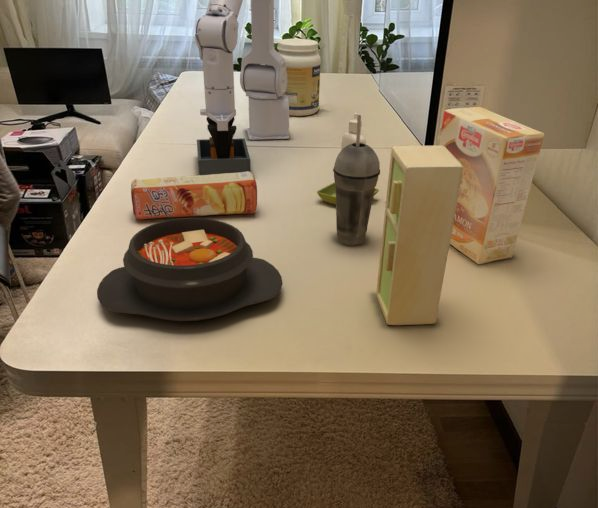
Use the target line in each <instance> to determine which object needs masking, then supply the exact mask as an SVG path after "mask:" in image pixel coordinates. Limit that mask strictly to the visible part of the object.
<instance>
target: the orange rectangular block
mask: <svg viewBox="0 0 598 508" xmlns="http://www.w3.org/2000/svg"><path fill="white" fill-rule="evenodd" d="M208 139H210V147H211V159H218V158H217V154H216V149H215V145H214V141H213V139H212V136H210V137H209V138H208ZM233 139H234V138H233ZM233 139H232V143H231V150H230V157H229V158H234V151H233V147H234V142H233Z"/></svg>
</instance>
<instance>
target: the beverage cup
mask: <svg viewBox="0 0 598 508" xmlns="http://www.w3.org/2000/svg"><path fill="white" fill-rule="evenodd" d="M360 126H361V127H362V115H361V114H358V118H357V136H356V143H352V144H349V145H347V146H346V147H345V148H343V149H342V148H341V149H340V151H339V153H338V154H337V156H336V159H335V161H334V165H333V169H332V171H333V180H334V182H335V184H336V205H335V216H336V217H335V219H336V222H335V224H336V237H337V238H336V239H337V241H338V242H339V243H340V244H343V245H346V246H359V245H362V244H363V243H365V239H366V234H367V231H368V226H369V220H370V216H371V210H372V205H373V201H374V197H373V195H374V189H375V188H376V187H377V184H378V181H379V176H380V174H381V168H380V165H381V164H380V159H379V157H378V155H377V153H376V152H375V150H374V149H373V148H372V147H371V146H370V145H368V144H367V143H366V144H363V143H360V133H361V132H360Z"/></svg>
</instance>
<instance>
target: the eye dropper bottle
mask: <svg viewBox="0 0 598 508" xmlns="http://www.w3.org/2000/svg"><path fill="white" fill-rule="evenodd" d="M358 115H359V113H357V112H354V113H353V116H352V119H350V120H348V131H345V132H344V133H343V135H342V138H341V150H342V149H343V148H345V147H346V146H347V145H349V144H352V143H356V136H357V118H358ZM360 143H363V144H366V145H367V142H366V138H365V136H364V135H363V133H362V125H361V126H360Z"/></svg>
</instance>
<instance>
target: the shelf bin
mask: <svg viewBox="0 0 598 508" xmlns="http://www.w3.org/2000/svg"><path fill="white" fill-rule="evenodd" d="M233 142H234V147H233V151H234V158H226V159H211V147H210V139H209V138H208V139H204V138H203V139H201V138H200V139H196V149H197V151H196V152H197V165H198V166H197V167H198V175H212V174H224V173H240V172H247V171H248V172H251V169H252V168H251V156H250V152H249V148H248V145H247V141H246V138H243V137H242V138H233ZM251 173H252V172H251Z"/></svg>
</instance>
